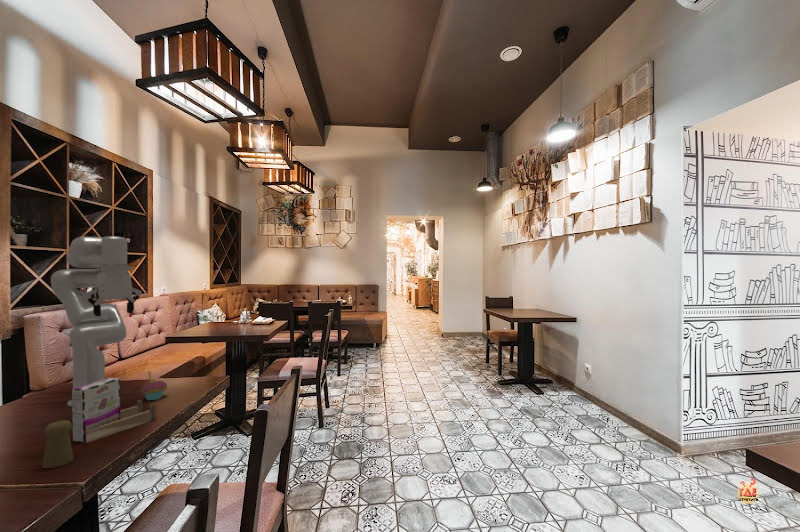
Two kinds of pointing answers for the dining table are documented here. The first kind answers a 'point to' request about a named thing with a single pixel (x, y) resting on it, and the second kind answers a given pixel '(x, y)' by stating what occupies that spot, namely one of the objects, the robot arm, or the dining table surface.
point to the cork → (58, 444)
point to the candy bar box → (95, 406)
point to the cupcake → (154, 389)
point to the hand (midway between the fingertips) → (114, 314)
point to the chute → (122, 422)
